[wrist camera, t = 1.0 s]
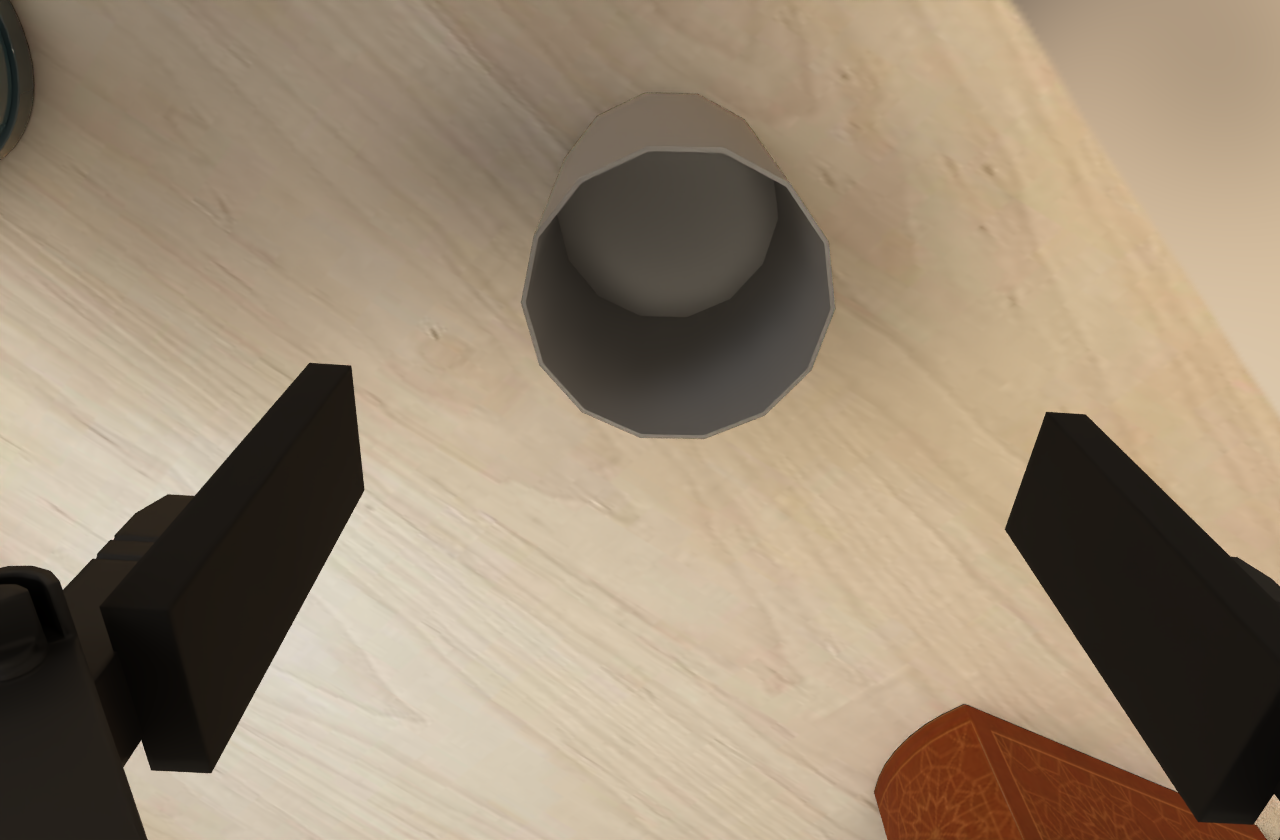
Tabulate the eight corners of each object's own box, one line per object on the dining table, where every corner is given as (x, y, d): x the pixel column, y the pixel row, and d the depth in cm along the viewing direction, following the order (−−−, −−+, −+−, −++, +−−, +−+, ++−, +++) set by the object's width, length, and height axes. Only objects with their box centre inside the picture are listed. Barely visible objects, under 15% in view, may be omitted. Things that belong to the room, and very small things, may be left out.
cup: (791, 96, 29) (858, 150, 20) (768, 315, 33) (815, 441, 24) (551, 90, 29) (512, 142, 20) (557, 311, 33) (528, 435, 24)
